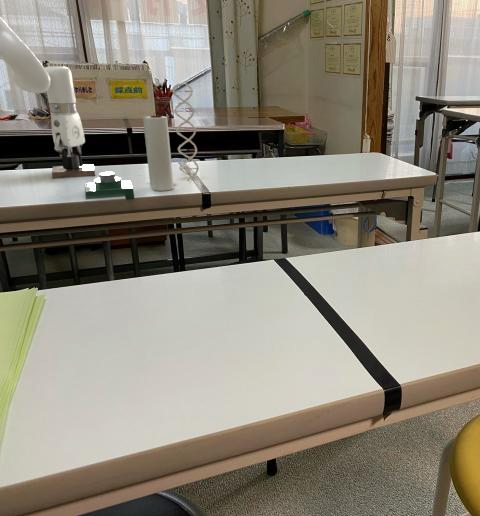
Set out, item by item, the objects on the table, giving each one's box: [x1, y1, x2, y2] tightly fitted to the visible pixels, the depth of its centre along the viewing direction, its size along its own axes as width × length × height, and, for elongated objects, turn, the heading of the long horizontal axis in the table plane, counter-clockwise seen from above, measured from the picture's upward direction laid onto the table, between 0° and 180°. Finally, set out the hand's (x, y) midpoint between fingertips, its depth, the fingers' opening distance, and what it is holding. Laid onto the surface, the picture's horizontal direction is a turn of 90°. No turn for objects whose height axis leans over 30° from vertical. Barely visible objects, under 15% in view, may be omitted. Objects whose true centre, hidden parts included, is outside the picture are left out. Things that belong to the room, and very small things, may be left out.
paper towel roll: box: [142, 115, 175, 192], centre depth 152 cm, size 7×6×21 cm
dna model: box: [171, 82, 200, 182], centre depth 164 cm, size 7×6×30 cm
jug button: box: [98, 171, 116, 181], centre depth 143 cm, size 4×4×2 cm
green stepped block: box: [84, 176, 135, 201], centre depth 144 cm, size 12×10×5 cm
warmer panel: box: [51, 163, 96, 179], centre depth 166 cm, size 12×10×3 cm
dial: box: [70, 153, 80, 169], centre depth 165 cm, size 4×4×4 cm
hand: (73, 167), depth 165 cm, fingers closed on dial, 4 cm apart
